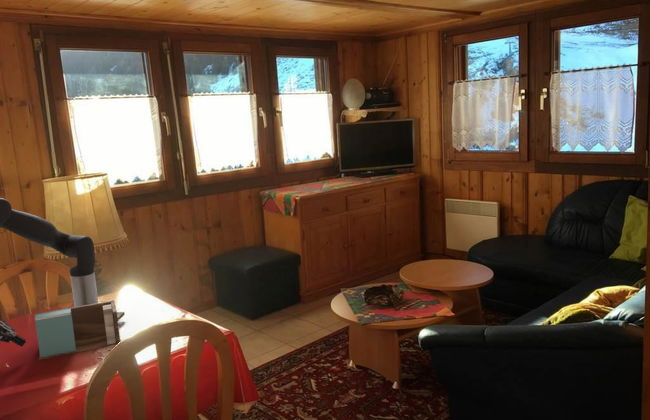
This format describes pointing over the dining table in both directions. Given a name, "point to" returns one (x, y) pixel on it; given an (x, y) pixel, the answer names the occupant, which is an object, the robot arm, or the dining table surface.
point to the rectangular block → (55, 333)
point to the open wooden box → (93, 326)
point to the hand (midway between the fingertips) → (24, 343)
